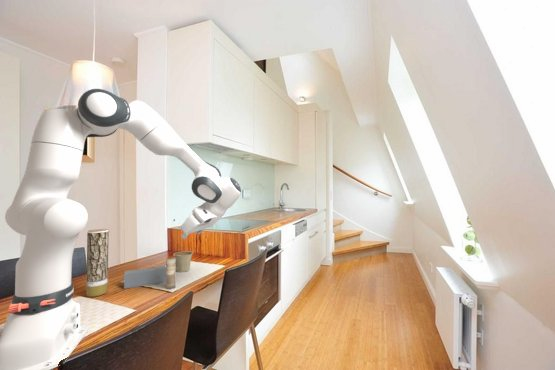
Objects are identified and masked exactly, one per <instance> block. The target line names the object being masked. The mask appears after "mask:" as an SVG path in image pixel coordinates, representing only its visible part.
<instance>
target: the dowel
mask: <svg viewBox="0 0 555 370" xmlns="http://www.w3.org/2000/svg"><path fill="white" fill-rule="evenodd" d="M165 260H166V263H165V266H166V282H165V289H166V290H172V289H175V288H176V258H174V257H167V258H166V259H165Z"/></svg>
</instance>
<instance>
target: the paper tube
mask: <svg viewBox="0 0 555 370" xmlns="http://www.w3.org/2000/svg"><path fill="white" fill-rule="evenodd" d="M109 232H110V231H109V229H107V228H97V229H89V230H88V231H87V232H86V233H87V235H86V237H87V239H86V243H87V245H86V286H85V287H86V296H87V297H90V298H95V297H100V296H102V295H105V294H106V293H107V292H108V290H109V289H108V288H109V286H108V285H109V284H108V283H109V281H108V280H109V236H110V235H109Z"/></svg>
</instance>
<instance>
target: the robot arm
mask: <svg viewBox="0 0 555 370" xmlns="http://www.w3.org/2000/svg"><path fill="white" fill-rule="evenodd" d="M118 129H121V130H125V131H127V132H128V133H130V134H131V135H133V136H134V138H135V139H136V140H137V141H138V142H140V143H141V144H142V145H143V146H144V147H145V148H146V149H147V150H149V151H150V152H151V153H153V154H155V155H157V156H170V157H175V159H176V158H177V160H179V161H181V162H182V163H183V164H184V165H185V166H186V167H187V168H188V169H189V170H190V171H192V172H193V174H194V179H193V181H192V183H191V190H192V191H191V192H192V193H193V195H194V196H195V197H197V198H199V199H200V200H202V201H205V202H203V203H202V204H201V205H199V206H197V207H195V208H193V209H192V211H191V214H189V216H188V217H187V218H186V219H185V221H183V223H182V224H181V226H180V230H181V231H182V232H183V233H182V234H181V236H180V237H181V238H182V240H186V239H187V238H188V237H189V235H190V234H193V233H195V234H196V235H200V234H201V233H202V232H203V231H205V230H206V229H208V228H211V227H213V226H214V225H216V223H217V222H218V221H220V219H222V217H223V216H224V215H225V214H226V212H227V210H228V209H230V208H232V206H233V205H234V204H235V203H236V202H237V200H239V198H240V196H241V195H242V189H241V186H240V184H239V183H238V182H237V180H236V179H235V178H233V177H222V173H221V171H220V169H219V168H218V167H217V166H215V165H213V164H211V163H209V162H207V161H206V160H205V159H203V158H202V156H200V155H199V154H198V153H197V152H196V151H195V150H193V148H192V147H190V146H189V145H188V144H187V143H186V142H185V141H184V140H183V138H181V137H180V136H179V135H178V133H177V132H176V131H175V130H174V128H172V127H171V125H170V124H168V122H167V121H166V120H165V119H164V118H163V117H162V116H161V115H160V114H159V113H158V112H156V111H155V109H153V108H152V107H151V106H149V105H148V104H147V103H145V102H144V101H141V100H137V99H135V100H131V101H127V100H126V99H125V98H123V97H120V96H118V95H116V94H114V93H112V92H110V90H109V91H108V90H106V89H103V88H102V89H101V88H92V89H89V90H86V91H85V92H83V94H82V95H80V97H79V99H78V102H77V108H75V109H72V110H71V109H70V110H69V109H64V108H48V109H47V110H44V111H43V112H42V113H41V115H40V117H39V119H38V121H37V122H36V126H35V127H34V131H33V135H32V137H31V142H30V143H31V144H30V148H29V153H28V157H27V158H28V159H27V162H26V168H25V170H24V175H23V177H22V179H21V182H20V184H19V186H18V188H17V190H16V192H15V195H14V197H13V199H12V203H11V204H10V206H9V207H8V208H7V209H6V212H5V216H4V219H5V223H6V224H7V225H8V227H10V228H11V230H12V231H14V232H16V233H18V234H19V235H23V236H25V242H24V245H23V249H22V252H21V255H20V258H19V259H18V260H17V261H16V263H15V279H14V281H15V282H14V287H15V288H14V294H13V295H12V299H11V302H10V304H9V306H8V310H7V313H8V314H7V316H6V321H5V323H4V327H3V328H2V329H3V330H2V332H1V335H0V370H54V369H55V368H57V367H59V366H58V364H59V362H60V361H61V360H63V359H65V358H67V357H68V358H69V357H70V356H71V354H72V353H73V351H74V350H75V349H76V347H77V346H78V345H79V343H81V341H82V340H83V339H84V338H85V336H86V335H87V333H88V327H87V326H81V310H80V309H81V307H80V305H81V304H80V303H78V301H76V300H74V298H73V297H74V291H75V290H74V289H75V288H74V283H73V282H72V269H73V268H72V267H73V266H72V265H73V255H74V251H75V247H76V244H77V240H78V238H79V235H80V233H81V232H82V231H83V230H84V229H85V228H86V225H87V223H88V220H89V214H88V211H87V209H86V208H85V206H84V205H83V204H81V203H79V202H77V201H75V200H73V199H70V198H68V195H69V193H70V191H71V189H72V188H73V186H74V184H75V183H76V182H77V181H78V179H79V177H80V173H81V167H82V160H83V154H84V149H85V142H86V139H87V138H105V137H108V136H111V135H113V134H115V133H116V132H117V130H118ZM68 358H67V359H68Z"/></svg>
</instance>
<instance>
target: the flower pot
mask: <svg viewBox="0 0 555 370" xmlns="http://www.w3.org/2000/svg"><path fill="white" fill-rule="evenodd" d="M193 255H194V252H193V251H187V250H184V251H177V252H174V253H173V255H172V256H173V258H176V269H175V272H177V273H184V272H188V271H190V268H191V260H192V256H193Z"/></svg>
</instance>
